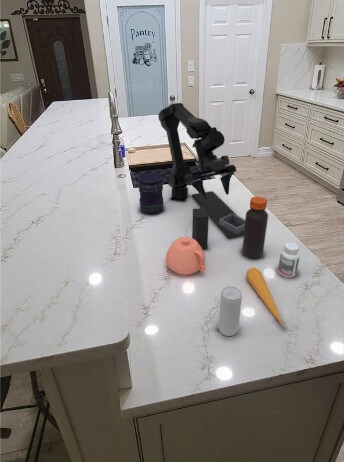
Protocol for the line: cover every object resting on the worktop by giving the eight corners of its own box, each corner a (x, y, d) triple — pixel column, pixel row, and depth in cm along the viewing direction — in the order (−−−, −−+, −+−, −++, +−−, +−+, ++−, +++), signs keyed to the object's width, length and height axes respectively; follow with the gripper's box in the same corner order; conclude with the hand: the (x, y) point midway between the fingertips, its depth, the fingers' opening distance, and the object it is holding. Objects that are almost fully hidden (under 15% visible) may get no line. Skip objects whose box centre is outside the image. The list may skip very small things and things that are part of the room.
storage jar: (136, 213, 135) (133, 179, 128) (146, 202, 143) (144, 170, 136) (157, 217, 132) (156, 183, 125) (167, 206, 140) (166, 174, 133)
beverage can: (216, 322, 83) (219, 286, 78) (235, 321, 84) (239, 285, 78) (220, 338, 79) (223, 301, 74) (240, 336, 80) (244, 299, 74)
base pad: (191, 196, 148) (192, 189, 147) (212, 193, 151) (212, 186, 149) (228, 239, 117) (229, 230, 115) (253, 234, 120) (254, 225, 118)
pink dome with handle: (184, 250, 112) (184, 224, 107) (217, 268, 103) (218, 241, 98) (158, 266, 104) (156, 239, 99) (190, 287, 95) (190, 259, 90)
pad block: (196, 250, 111) (196, 217, 105) (192, 241, 116) (192, 208, 110) (207, 249, 112) (208, 216, 106) (203, 239, 117) (204, 207, 111)
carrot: (246, 278, 99) (242, 269, 97) (260, 272, 99) (256, 262, 96) (276, 335, 83) (273, 325, 80) (293, 328, 83) (290, 318, 80)
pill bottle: (287, 264, 104) (292, 239, 99) (300, 274, 99) (305, 248, 95) (274, 269, 102) (278, 243, 97) (286, 280, 97) (291, 253, 93)
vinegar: (264, 250, 111) (272, 197, 101) (260, 261, 105) (267, 206, 96) (244, 245, 113) (250, 193, 104) (239, 256, 108) (245, 202, 98)
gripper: (191, 152, 107) (204, 198, 106) (239, 144, 114) (250, 187, 113) (179, 161, 117) (190, 204, 117) (223, 153, 124) (233, 193, 124)
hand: (216, 197), depth 117 cm, fingers open, 9 cm apart
